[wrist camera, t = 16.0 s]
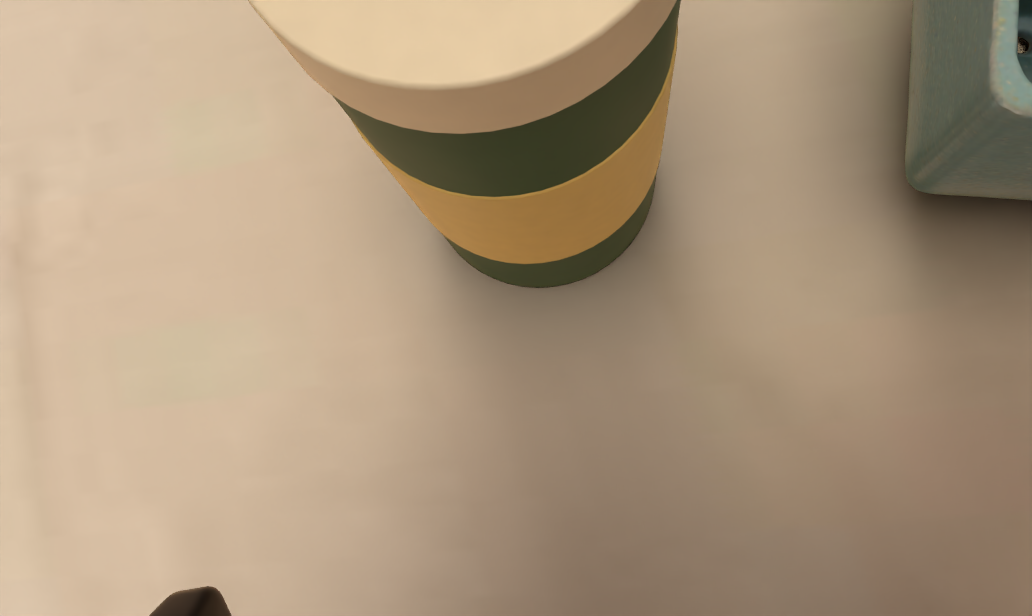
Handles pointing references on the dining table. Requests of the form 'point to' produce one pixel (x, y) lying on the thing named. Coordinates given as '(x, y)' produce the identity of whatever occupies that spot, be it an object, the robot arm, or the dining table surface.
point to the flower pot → (970, 99)
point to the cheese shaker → (503, 116)
